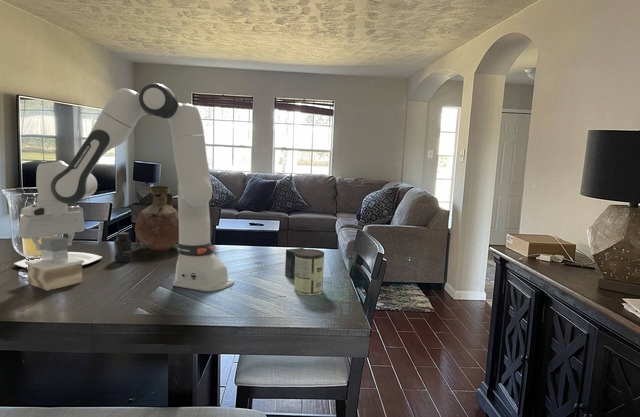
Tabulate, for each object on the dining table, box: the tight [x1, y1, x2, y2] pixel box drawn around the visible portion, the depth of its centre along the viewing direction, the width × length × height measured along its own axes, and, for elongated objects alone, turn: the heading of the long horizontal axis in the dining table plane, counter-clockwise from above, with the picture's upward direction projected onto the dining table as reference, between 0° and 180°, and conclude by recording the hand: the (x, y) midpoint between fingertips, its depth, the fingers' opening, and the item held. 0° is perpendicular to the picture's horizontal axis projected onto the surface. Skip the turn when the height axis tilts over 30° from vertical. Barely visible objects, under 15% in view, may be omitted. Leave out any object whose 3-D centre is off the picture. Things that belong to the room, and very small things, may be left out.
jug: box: [134, 185, 179, 252], centre depth 206 cm, size 22×22×30 cm
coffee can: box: [293, 248, 325, 296], centre depth 153 cm, size 10×10×14 cm
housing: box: [40, 235, 69, 264], centre depth 151 cm, size 5×7×8 cm
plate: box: [13, 251, 103, 269], centre depth 176 cm, size 27×27×2 cm
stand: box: [25, 256, 84, 291], centre depth 152 cm, size 13×13×8 cm
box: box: [284, 247, 305, 279], centre depth 172 cm, size 8×6×11 cm
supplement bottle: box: [113, 231, 133, 264], centre depth 183 cm, size 7×7×12 cm
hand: (54, 247), depth 151 cm, fingers open, 8 cm apart
